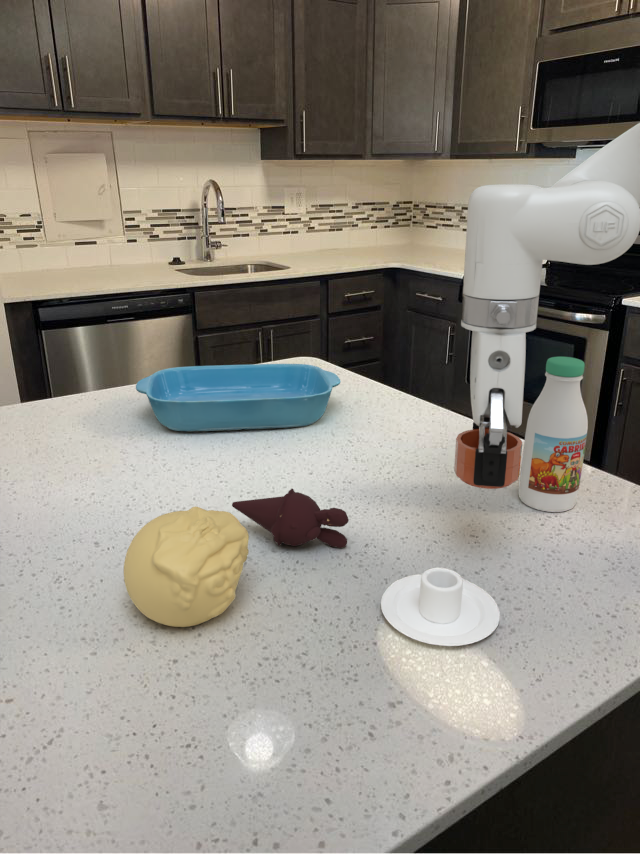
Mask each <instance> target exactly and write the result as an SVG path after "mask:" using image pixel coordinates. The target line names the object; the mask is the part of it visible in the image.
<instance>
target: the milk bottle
mask: <svg viewBox="0 0 640 854" xmlns="http://www.w3.org/2000/svg"><path fill="white" fill-rule="evenodd" d="M585 366H586V365H585V362H584V361H583V359H579V358H576V357H572V356H552V357H549V358H547V360H546V364H545V372H544V376H545V377H546V378H545V379H546V380H545V383H544V386H543V388H542V390H541V392H540V394H539V396H538V397H537V398H536V400H535V401H534V403H533V405H532V406H531V408H530V411H529V414H528V417H527V422H526V427H525V432H524V433H525V434H524V442H523V448H522V456H521V464H520V473H519V482H518V484H519V485H518V496H519V500H520V501H521V502H522V503H523V504H524V505H526V506H528V507H530V508H532V509H535V510H538V511H543V512H549V513H562V512H566V511H570V510H572V509H573V508H574V507H575V506H576V505H577V502H578V497H579V491H580V484H581V477H582V473H583V471H582V470H583V465H584V464H583V463H584V458H585V451H586V444H587V437H588V429H589V426H588V424H589V421H588V420H589V419H588V413H587V409H586V405H585V403H584V400H583V397H582V391H581V381H582V380H583V379H584V376H583V375H584V373H585Z"/></svg>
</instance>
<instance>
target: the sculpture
mask: <svg viewBox="0 0 640 854" xmlns="http://www.w3.org/2000/svg"><path fill="white" fill-rule="evenodd" d="M249 537H250V535H249V532H248V529H247V528H246V527H245V526H244V525H242V524H241V522H240V521H239V519H238V518H237V517H236V516H235V515H234V514H233V513H231V512H229V511H224V510H213V509H209V510H207V509H204V508H201V507H199V506H192V507H191V508H189V509H187V510H176V511H170V512H166V513H164V514H161V515H159V516H157V517H155V518H153V519H151V520H149V521H148V522H147V523H146V524H145V525H143V526H142V527H141V528H140V529H139V531H137V533H136V534H135V535H134V536H133V538H132V540H131V541H130V544H129V546H128V548H127V551H126V554H125V556H124V562H123V579H124V585H125V588H126V592H127V594H128V595H129V598H130V599H131V602H132V603H133V604H134V606H135V607H136V608H137V610H139V612H140V613H142V614H143V616H145V617H146V618H148V619H149V620H151V621H154V622H156V623H158V624H160V625H163V626H164V625H165V626H169V627H175V628H188V627H193V626H197V625H200V624H203V623H206V622H208V621H209V620H212V619H213V618H217V617H218V616H220V615H222V614H223V613H224V612H225V611H226V610H227V609H228V608H229V606H230V605H231V604H233V602H234V600H235V599H236V590H237V587H238V584H239V582H240V580H241V579H240V578H241V575H242V573H243V569H244V563H245V562H246V561H247V560H248V555H249V551H250V550H249V539H250V538H249Z"/></svg>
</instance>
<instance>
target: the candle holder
mask: <svg viewBox="0 0 640 854" xmlns="http://www.w3.org/2000/svg"><path fill="white" fill-rule="evenodd" d="M380 609H381V612H382V614H383V617H384V618H385V620H386V621H387V622H388V623H389V624H390V626H392V627H393V628H394V629H395V630H397V631H398V632H399V633H401V634H403V635H404V636H407V637H408V638H411V639H413V640H415V641H418V642H421V643H425V644H429V645H435V646H440V647H441V646H443V647H458V646H466V645H470V644H474V643H477V642H480V641H482V640H484V639H485V638H487V637H489V636H490V635H492V634H493V632H495V630H496V629H497V628H498V625H499V623H500V620H501V614H500V608H499V606H498V604H497V602H496V601H495V599H494V598H493V597H492V596H491V595H490V594H489V592H487V591H486V590H485V589H484V588H482V587H480V586H479V585H477V584H476V583H473V582H472V581H469V580H467V579H464V578H463V577H462V576H461V574H460V573H458V572H457V571H455V570H453V569H451V568H448V567H441V566H440V567H431V568H428V569H425V571H423V572H422V573H416V574H410V575H407V576H404V577H401V578H399V579H397V580H394V581H393V582H392V583H391V584H390V585H388V587H387V588H386V589H385V591H383V594H382V596H381V599H380Z"/></svg>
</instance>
